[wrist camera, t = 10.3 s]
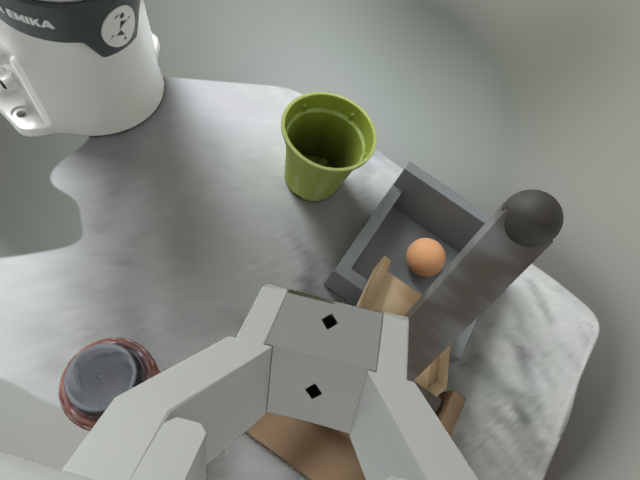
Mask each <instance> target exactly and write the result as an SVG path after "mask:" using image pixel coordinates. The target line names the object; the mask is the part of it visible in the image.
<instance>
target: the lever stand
mask: <svg viewBox="0 0 640 480" xmlns="http://www.w3.org/2000/svg"><path fill="white" fill-rule="evenodd" d="M438 396H440V397H441V404H440V406H439V408H438V410H437V411H436V413H435V414H436V416H437V417H438V419H439V420H440V422H441V423H442V425H443V426H444V428H445V429H446V431H447V432H448V434H449V435H450V436H451V433H452V431H453V428H454V426H455V424H456V421H457V419H458V416H459V414H460V412H461V409H462V407H463V404H464V402H465V399H466V398H465V397H463V396H462V395H460V394H459V393H458V392H456V391H455V390H452V391H448V392H443V393H440V394H439V395H438ZM246 433H247V434H249V435H250V436H252V437H253V438H254V439H256V440H257V441H258V442H260V443H261V444H262V445H264V446H265V447H267V448H268V449H269V450H271V451H272V452H273V453H275V454H276V455H277V456H279V457H280V458H281V459H283V460H284V461H286V462H287V463H288V464H290V465H291V466H292V467H294V468H295V469H296V470H298V471H299V472H300V473H302V474H303V475H305V476H306V477H307V478H309V479H310V480H366V479H365V476H364V474H363V471H362V468H361V466H360V463H359V460H358V457H357V455H356V452H355V449H354V447H353V444H352V441H351V439H350V434H349V433H346V432H342V431H339V430H336V429H332V428H329V427H325V426H322V425H319V424H315V423H312V422H308V421H304V420H300V419H296V418H292V417H288V416H283V415H279V414H275V413H271V412H266V414H265V415H264V416H263V417H262V418H260V419H259V420H258V421H257V422H256V423H255V424H254V425H252V426H251V427H250V428H249V429H248V430H247V431H246Z"/></svg>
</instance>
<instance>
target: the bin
mask: <svg viewBox="0 0 640 480" xmlns="http://www.w3.org/2000/svg"><path fill="white" fill-rule="evenodd" d="M490 217H491V216H489V215H488V214H486V213H485V212H484V211H482V210H480V209H479V208H478V207H476V206H475V205H473V204H472V203H470V202H469V201H467V200H466V199H464V198H463V197H461V196H460V195H458V194H457V193H456V192H454V191H453V190H451V189H450V188H448V187H447V186H445V185H444V184H442V183H441V182H439V181H438V180H436V179H435V178H433V177H432V176H431V175H429V174H427V173H426V172H425V171H423V170H422V169H420V168H419V167H417V166H416V165H414V164H412V163H411V162H409V163H408V165H407V166H406V168H405V169H404V170H403V172H402V173H401V174H400V176H399V177H398V179H397V180H396V181H395V183H394V184H393V185H392V187H391V188H390V190H389V191H388V192H387V194H386V195H385V196H384V198H383V199H382V201H381V202H380V204H379V205H378V207H377V208H376V210H375V211H374V212H373V214H372V215H371V217H370V218H369V220H368V221H367V223H366V224H365V225H364V227H363V228H362V230H361V231H360V233H359V234H358V236H357V237H356V239H355V240H354V241H353V243H352V244H351V246H350V247H349V249H348V250H347V252H346V253H345V254H344V256H343V257H342V259H341V260H340V262H339V263H338V265H337V266H336V268H335V269H334V270H333V272H332V273H331V275H330V276H329V278H328V279H327V281H326V282H325V283H324V285H325V286H326V287H328V288H329V289H331V290H332V291H333V292H335V293H336V294H338V295H339V296H341V297H342V298H343V299H345V300H346V301H348V302H349V303H350V304H352V305H354V306H356V305H357V303H358V301H359V299H360V297H361V295H362V293H363V291H364V288H365V286H366V284H367V282H368V280H369V278H370V276H371V274H372V271H373V270H374V268H375V267H376V266H377V265H378V263H379V262H380V261H381V259H382V258H383V257H384V255H385V256H386V257H387V258H389V259H390V260H391V263H390V265H389V268H388V270H387V271H388V272H389V273H391V274H392V275H393V276H395V277H396V278H398V279H399V280H401V281H402V282H403V283H405V284H406V285H408V286H409V287H411V288H412V289H413V290H415V291H416V292H418V293H419V294H421V295H423V294H424V292H425V291H426V290H427V289H428V288H429V287H430V286H431V284H432V283H433V282H434V281H435V280H436V279H437V278H438V277H439V275H440V274H441V273H442V272H443V271H444V270H445V269H446V267H447V266H448V265H449V264H450V263H451V262H452V261H453V259H454V258H455V257H456V256H457V255H458V254H459V253H460V252H461V250H462V249H463V248H464V247H465V246H466V245H467V244H468V242H469V241H470V240H471V239H472V238H473V237H474V236H475V234H476V233H477V232H478V231H479V230H480V229H481V228H482V227H483V225H484V224H485V223H486V222H487V221H488V220H489V219H490ZM421 238H430V239H433V240H436V241H437V242H438V243H440V244H441V246H442V247H443V249H444V251H445V255H446V260H445V264H444V266H443V268H442V269H441V270H440V271H439V272H438V273H437V274H435V275H433V276H428V277H423V276H419V275H417V274H415V273H414V272H412V271H411V270H410V268H409V267H408V265H407V262H406V252H407V249H408V247H409V246H410V245H411V244H412V243H413V242H414V241H416V240H418V239H421ZM478 317H479V316H478ZM478 317H477V318H476V319H475V320H474V321H473V322H472V323H471V324H470V325H469V326H468V327H467V328H466V329H465V330H464V331H463V332H462V333H461V334H460V335H459V336H458V337H457V338H456V339H455V340H454V341H453V342H452V343H451V344H450V355H449V362H452V361H455V360H458V359H460V357H461V355H462V353H463V351H464V348H465V346H466V344H467V342H468V339H469V337H470V335H471V333H472V330H473V328H474V326H475V324H476V321H477V319H478Z"/></svg>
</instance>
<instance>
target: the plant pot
mask: <svg viewBox="0 0 640 480" xmlns="http://www.w3.org/2000/svg"><path fill="white" fill-rule="evenodd" d="M281 130H282V134H283V137H284V140H285V144H286V161H285V180H286V183H287V185H288V187H289V189H290V190H291V191H292V192H294V193H296V194H297V195H299V196H300V197H302V198H303V199H305V200H308V201H322V200H325V199H327V198H329V197H330V196H331V195H332V194H333V193H334V192H335V191H336V190H337V189H338V187H339V186H340V185H341V184H342V182H343V181H344V180H345V179H346V178H347V176H348V175H349V174H350V173H351V172H352V171H353V170H354V169H357V168H359V167H360V166H362V165H363V164H365V163H366V162H367V161H368V160H369V159H370V157H371V156H372V155H373V153H374V151H375V148H376V143H377V135H376V131H375V128H374V124H373V122H372V121H371V119H370V118H369V116H368V115H367V113H366V112H365V111H364V110H363V109H362V108H361V107H359V106H358V105H357V104H356V103H354V102H353V101H351V100H349V99H347V98H345V97H343V96H340V95H337V94H333V93H328V92H312V93H307V94H304V95H302V96H299V97H297V98H296V99H294V100H293V101H292V102H291V103H289V104H288V106H287V107H286V108H285V110H284V112H283V115H282V119H281ZM308 159H310V160H312V161H310V160H308Z"/></svg>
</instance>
